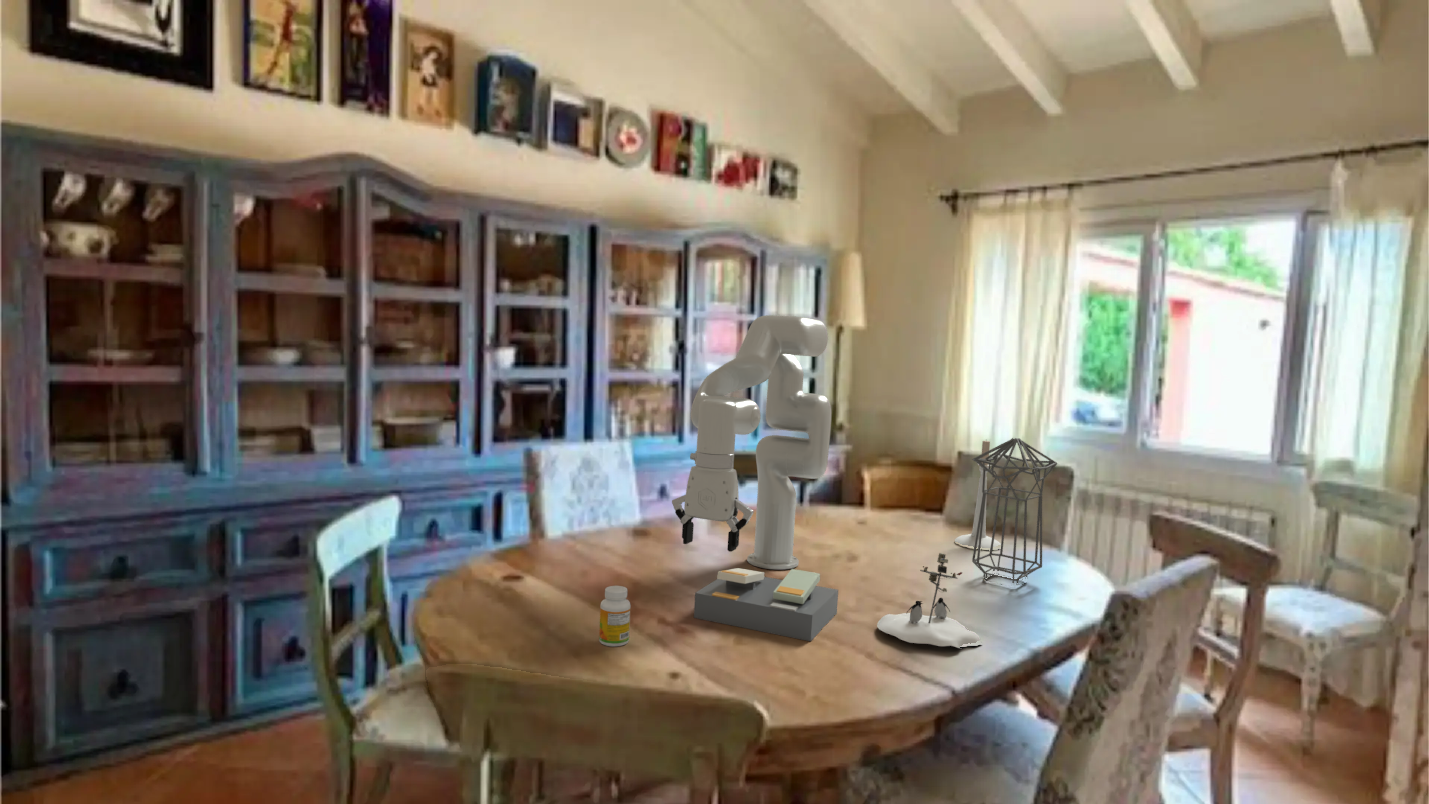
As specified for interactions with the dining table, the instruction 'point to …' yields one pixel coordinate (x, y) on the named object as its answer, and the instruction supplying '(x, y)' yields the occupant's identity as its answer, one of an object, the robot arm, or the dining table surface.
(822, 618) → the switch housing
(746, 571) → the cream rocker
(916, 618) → the figurine
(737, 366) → the robot arm
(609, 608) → the supplement bottle
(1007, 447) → the geometric lantern
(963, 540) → the candlestick
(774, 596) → the sage rocker
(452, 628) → the dining table surface
